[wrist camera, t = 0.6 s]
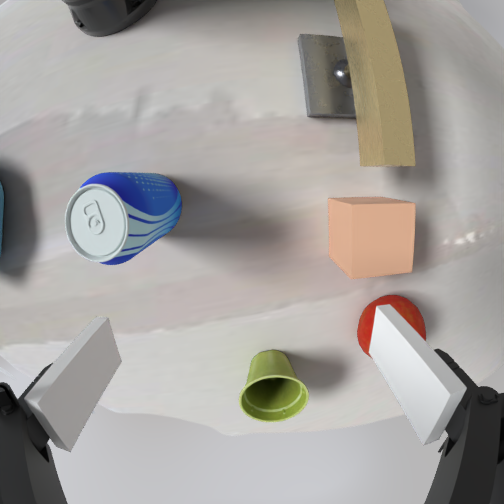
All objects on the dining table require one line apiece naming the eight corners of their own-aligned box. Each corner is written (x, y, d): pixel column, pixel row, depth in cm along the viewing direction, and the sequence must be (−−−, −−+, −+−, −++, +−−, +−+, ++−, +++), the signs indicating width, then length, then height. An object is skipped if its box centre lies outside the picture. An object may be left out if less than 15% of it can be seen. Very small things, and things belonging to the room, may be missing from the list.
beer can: (193, 184, 35) (151, 189, 20) (172, 244, 37) (125, 287, 22) (137, 165, 34) (69, 161, 19) (120, 223, 36) (51, 252, 21)
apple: (408, 332, 41) (438, 365, 31) (355, 354, 42) (377, 394, 32) (405, 280, 39) (441, 307, 29) (346, 302, 40) (372, 338, 30)
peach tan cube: (328, 198, 36) (351, 204, 27) (381, 196, 36) (415, 203, 27) (329, 256, 38) (351, 279, 29) (380, 252, 38) (411, 272, 29)
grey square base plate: (297, 40, 30) (300, 33, 28) (375, 48, 30) (381, 42, 28) (307, 116, 33) (310, 113, 31) (388, 120, 33) (395, 118, 31)
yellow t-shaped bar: (323, -2, 26) (341, -41, 16) (346, 1, 26) (369, -35, 16) (348, 167, 32) (384, 164, 23) (374, 167, 32) (415, 166, 23)
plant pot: (258, 330, 41) (260, 366, 32) (310, 353, 42) (322, 388, 33) (230, 372, 43) (226, 410, 34) (279, 391, 44) (284, 428, 35)
